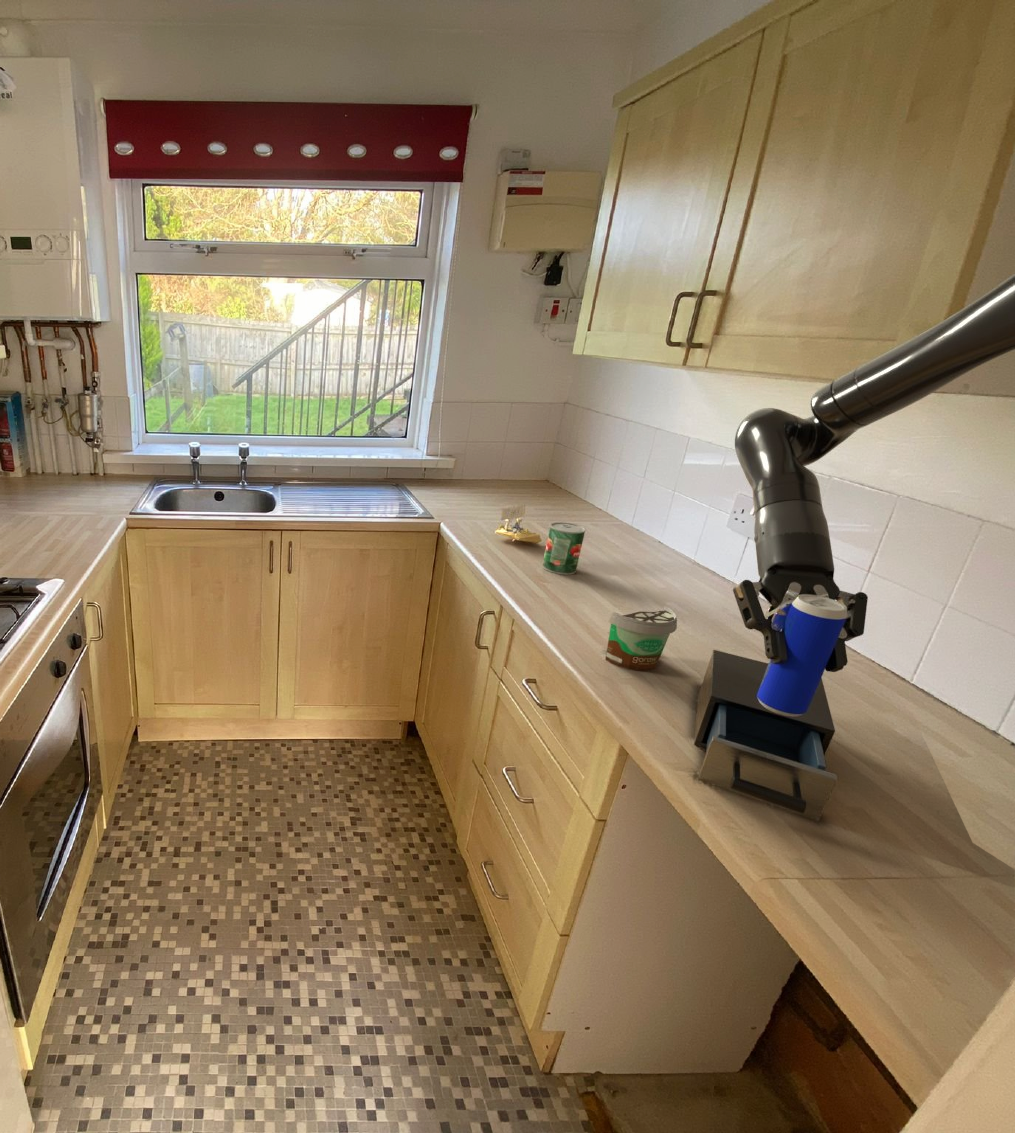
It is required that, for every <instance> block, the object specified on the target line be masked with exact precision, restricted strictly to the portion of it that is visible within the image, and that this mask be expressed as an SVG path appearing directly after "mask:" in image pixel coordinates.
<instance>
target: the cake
mask: <svg viewBox="0 0 1015 1133" xmlns="http://www.w3.org/2000/svg"><path fill="white" fill-rule="evenodd" d="M500 516H501V518H500V521H504V522H506V523H505V526H504V525H503V524H500V525H499V526H498V529H496V530H495V531H494V534H497V535H500V536H501V535H502V536H505V537H508V538H512V542H514V541H515V540H516V541H522V542H527V543H534V544H540V543H542V538H541V535H540V534H538V533H536V532H532V531H529V529H528V528H524V527H521V522H523V520H522V518H525V516H526V504H522V505H517V506H515V505H514V506H513V507H512V506H511V507H503V508H501V515H500ZM515 519H516V522H515V524H514V525H511V524H510V523H512V522H513V520H515ZM477 548H479V547H478V546H476V549H477Z"/></svg>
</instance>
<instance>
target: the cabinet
mask: <svg viewBox="0 0 1015 1133" xmlns="http://www.w3.org/2000/svg"><path fill="white" fill-rule="evenodd" d="M768 664H769V662H764V661H760V660H757V659H756V660H755V659H752V658H748V657H745V656H740V655H737V654H732V653H729V652H724V651H720V650H718V649H717V650H716V649H713V650H712V653H711V656H710V659H709V662H708V665H707V668H706V670H705V673H704V677H703V680H702V682H701V686H700V689H699V692H698V695H697V696H698V697H697V707H696V708H697V709H696V719H695V729H694V742H693V745H695V746H697V747H700V748H703V749H706V750H707V733H708V724H709V721H710V718H711V715H712V712H713V709H714V706H715V704H716V702H717V703H721V704H724V705H728V706H731V707H735V708H738V709H742V710H745V711H749V712H752V713H756V714H759V715H762V716H766V717H769V718H773V719H776V720H780V721H783V722H787V723H790V724H794V725H797V726H801V727H804V728H808V729H811V730H815V731H818V732H819V735H820V740H821V745H822V749H823V754H824V756H825V755H826V753H827V751H828V749H829V746H830V744H831V743H832V740H833V737H834V735H835V733H836V729H835V726H834V720H833V717H832V713H831V709H830V704H829V701H828V697H827V693H826V689H825V685H824V682H823V676H822V677H821V680H820V682H819V684H818V687H817V689H816V691H815V694H814V696H813V698H812V701H811V703H810V705H809V708H808V710H807V712H806V713H804V714H802V715H800V716H794V717H792V716H785V715H781V714H778V713H775V712H773V711H770V710H768V709H767V708H765V707H764V706H763V705H762V704H761V703H760V702H759V700H758V698H757V693H758V691H759V688H760V685H761V683H762V680H763V678H764V675H765V672H766V670H767V667H768Z"/></svg>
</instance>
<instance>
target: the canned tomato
mask: <svg viewBox="0 0 1015 1133" xmlns="http://www.w3.org/2000/svg"><path fill="white" fill-rule="evenodd" d="M549 527H550V528H549V532H548V536H547V541H546V546H545V550H544V555H543V561H542V564H541V566H542V568H543V569H544V570H546V571H547V572H550V573H552V574H558V575H573V574H575V573H576V572H577V568H578V565H579V560H580V556H581V550H582V547H583V541H584V538H585V533H586V528H585V527H583V526H582V525H579V524H576V523H572V522H563V521H562V522H561V521H558V522H557V521H556V522H552V523H550V525H549Z"/></svg>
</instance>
